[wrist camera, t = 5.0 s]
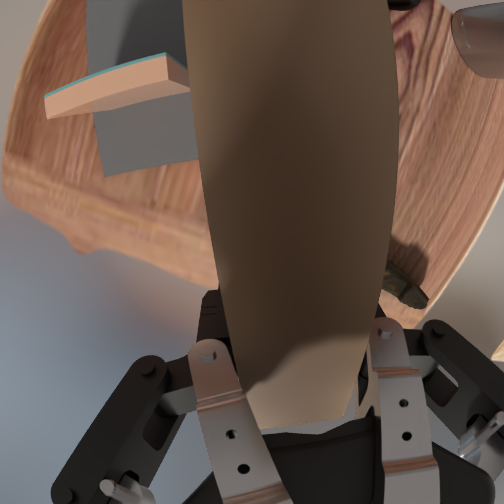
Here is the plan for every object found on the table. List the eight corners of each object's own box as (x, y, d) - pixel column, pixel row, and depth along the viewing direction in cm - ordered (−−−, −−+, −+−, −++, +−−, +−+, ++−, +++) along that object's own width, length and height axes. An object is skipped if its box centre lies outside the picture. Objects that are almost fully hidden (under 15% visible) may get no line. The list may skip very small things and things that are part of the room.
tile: (194, 73, 20) (165, 52, 11) (196, 90, 20) (168, 79, 12) (109, 94, 20) (44, 95, 11) (111, 110, 20) (47, 119, 12)
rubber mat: (207, -50, 13) (206, -51, 13) (227, 154, 24) (227, 155, 23) (89, -16, 13) (87, -17, 13) (106, 175, 24) (104, 176, 23)
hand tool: (297, 239, 29) (306, 263, 25) (320, 208, 27) (334, 228, 23) (402, 303, 34) (416, 325, 30) (421, 282, 33) (438, 303, 29)
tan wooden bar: (308, -40, 6) (351, -106, 1) (319, 338, 14) (343, 416, 10) (201, -37, 6) (179, -110, 1) (246, 346, 14) (250, 429, 10)
